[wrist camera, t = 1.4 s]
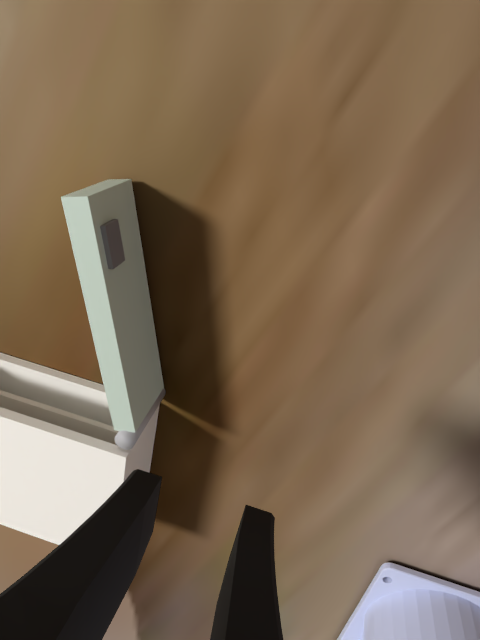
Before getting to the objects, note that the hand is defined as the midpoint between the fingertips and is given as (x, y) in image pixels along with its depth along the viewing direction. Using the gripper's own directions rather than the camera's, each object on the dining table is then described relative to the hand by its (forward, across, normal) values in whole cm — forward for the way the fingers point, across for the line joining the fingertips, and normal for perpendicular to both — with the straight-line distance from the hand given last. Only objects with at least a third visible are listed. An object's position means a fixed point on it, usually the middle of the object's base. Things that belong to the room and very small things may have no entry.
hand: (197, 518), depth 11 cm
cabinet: (+10, +10, +10) cm, 18 cm away
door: (+10, +6, +1) cm, 12 cm away
